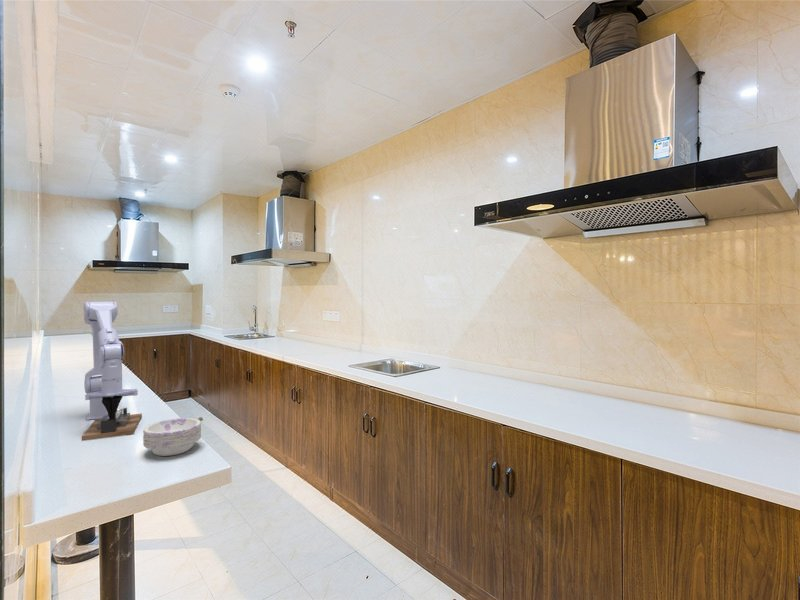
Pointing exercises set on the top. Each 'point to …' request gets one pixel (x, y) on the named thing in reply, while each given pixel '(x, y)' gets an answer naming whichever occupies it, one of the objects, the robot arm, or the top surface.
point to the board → (121, 431)
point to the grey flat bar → (118, 413)
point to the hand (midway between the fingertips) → (112, 418)
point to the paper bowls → (172, 436)
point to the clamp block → (113, 422)
